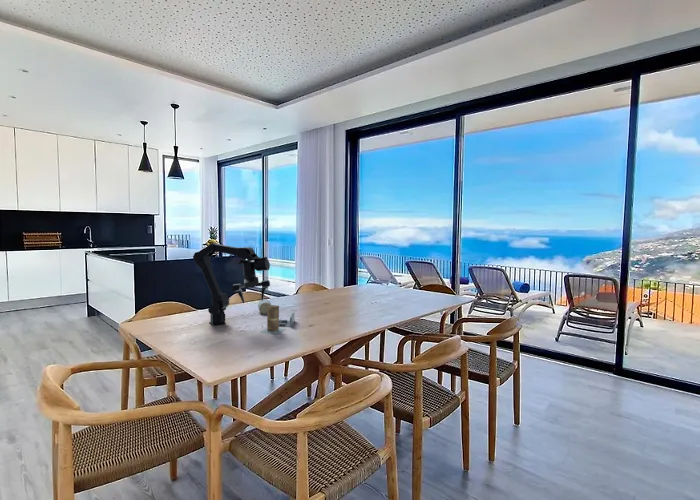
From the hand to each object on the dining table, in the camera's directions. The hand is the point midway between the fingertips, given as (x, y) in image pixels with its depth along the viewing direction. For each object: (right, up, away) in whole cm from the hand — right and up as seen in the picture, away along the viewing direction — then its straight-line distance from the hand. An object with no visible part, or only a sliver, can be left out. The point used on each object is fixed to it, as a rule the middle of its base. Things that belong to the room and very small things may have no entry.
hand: (253, 302), depth 189 cm
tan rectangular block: (+12, -13, -8) cm, 19 cm away
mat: (+12, -13, -8) cm, 19 cm away
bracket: (+15, -12, +5) cm, 20 cm away
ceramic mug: (+1, -11, +29) cm, 31 cm away
